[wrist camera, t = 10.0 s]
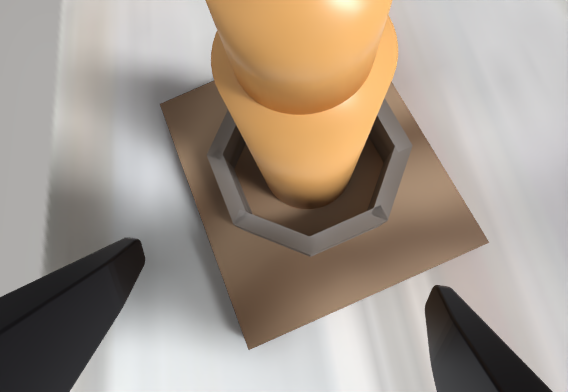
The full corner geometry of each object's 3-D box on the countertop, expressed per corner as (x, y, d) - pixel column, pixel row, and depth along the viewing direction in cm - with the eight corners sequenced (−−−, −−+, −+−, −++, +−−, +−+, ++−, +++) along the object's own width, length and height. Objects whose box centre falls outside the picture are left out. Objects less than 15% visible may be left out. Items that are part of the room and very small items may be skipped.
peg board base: (474, 244, 18) (519, 237, 14) (253, 343, 18) (237, 364, 14) (351, 36, 22) (359, -14, 18) (169, 115, 22) (139, 81, 18)
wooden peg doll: (369, 158, 18) (503, -102, 5) (315, 227, 17) (325, 116, 5) (299, 111, 19) (276, -196, 7) (246, 174, 18) (105, -30, 6)
